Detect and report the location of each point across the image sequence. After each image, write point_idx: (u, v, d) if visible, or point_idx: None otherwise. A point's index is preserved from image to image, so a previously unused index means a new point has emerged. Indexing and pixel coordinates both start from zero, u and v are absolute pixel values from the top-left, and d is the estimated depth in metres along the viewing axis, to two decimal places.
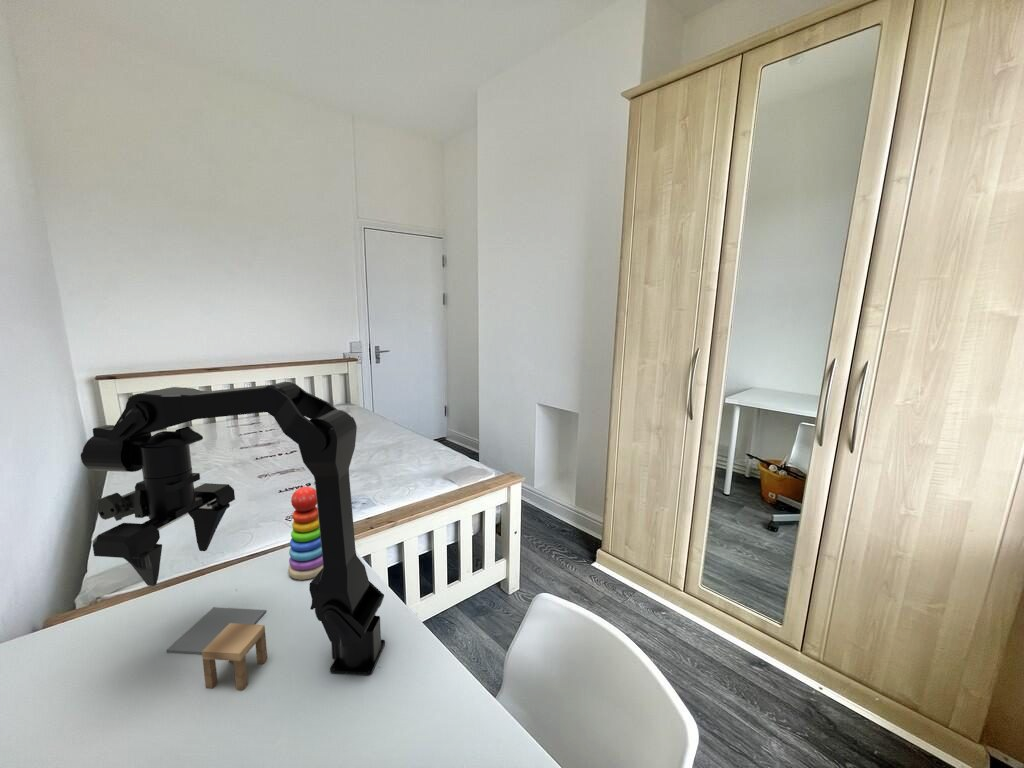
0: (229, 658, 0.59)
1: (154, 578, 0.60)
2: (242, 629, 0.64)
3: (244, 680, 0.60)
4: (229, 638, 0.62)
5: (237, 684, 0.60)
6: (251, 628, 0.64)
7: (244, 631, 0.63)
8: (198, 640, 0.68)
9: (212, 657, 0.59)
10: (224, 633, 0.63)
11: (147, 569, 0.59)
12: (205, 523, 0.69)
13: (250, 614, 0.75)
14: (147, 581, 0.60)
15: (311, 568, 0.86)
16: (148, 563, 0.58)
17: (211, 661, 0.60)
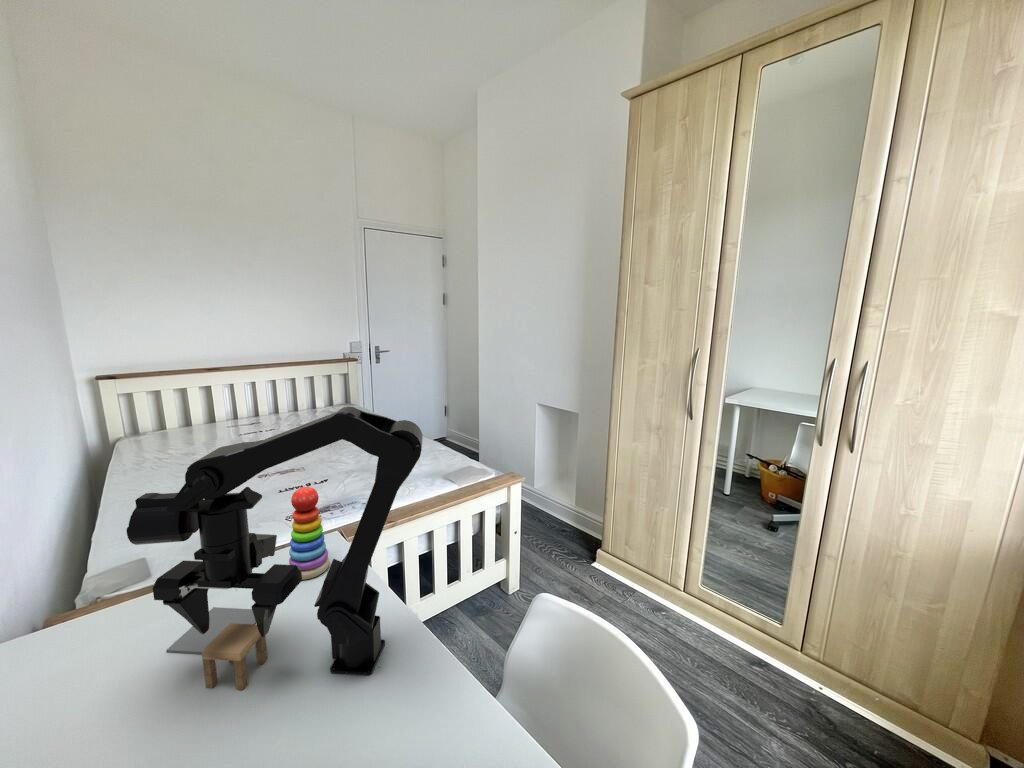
0: (229, 658, 0.59)
1: None
2: (242, 629, 0.64)
3: (244, 680, 0.60)
4: (229, 638, 0.62)
5: (237, 684, 0.60)
6: (251, 628, 0.64)
7: (244, 631, 0.63)
8: (198, 640, 0.68)
9: (212, 657, 0.59)
10: (224, 633, 0.63)
11: None
12: None
13: (250, 614, 0.75)
14: None
15: (311, 568, 0.86)
16: None
17: (211, 661, 0.60)
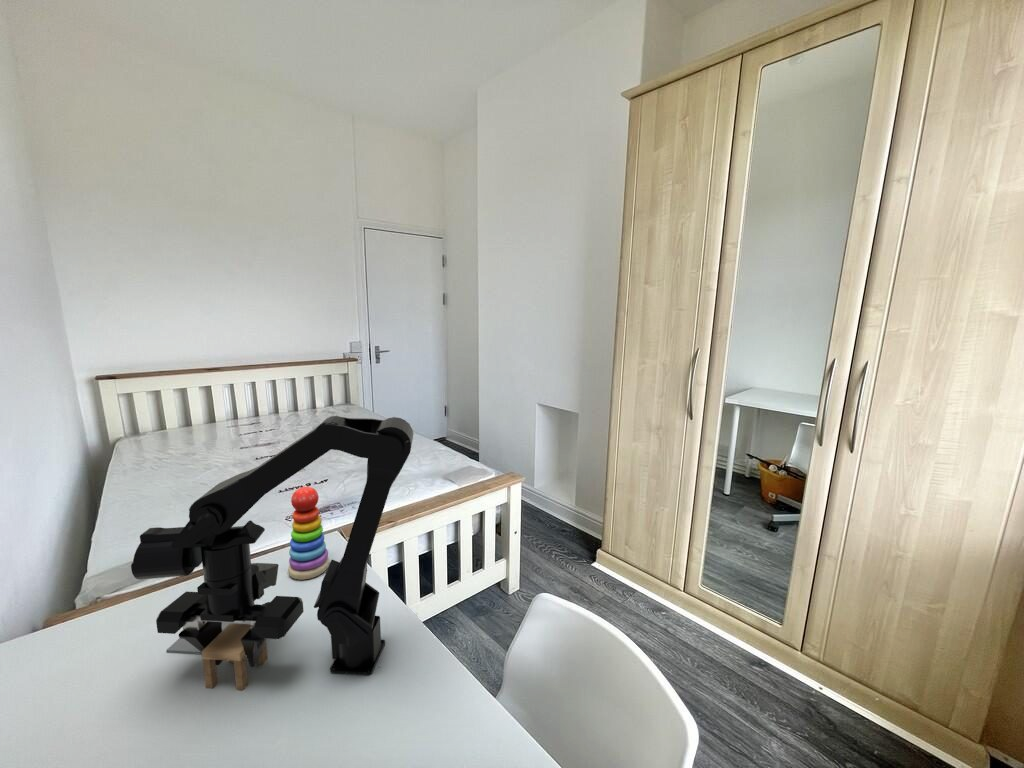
0: (229, 658, 0.59)
1: None
2: (242, 629, 0.64)
3: (244, 680, 0.60)
4: (229, 638, 0.62)
5: (237, 684, 0.60)
6: None
7: (244, 631, 0.63)
8: None
9: (212, 657, 0.59)
10: (224, 633, 0.63)
11: None
12: None
13: None
14: None
15: (311, 568, 0.86)
16: None
17: (211, 661, 0.60)
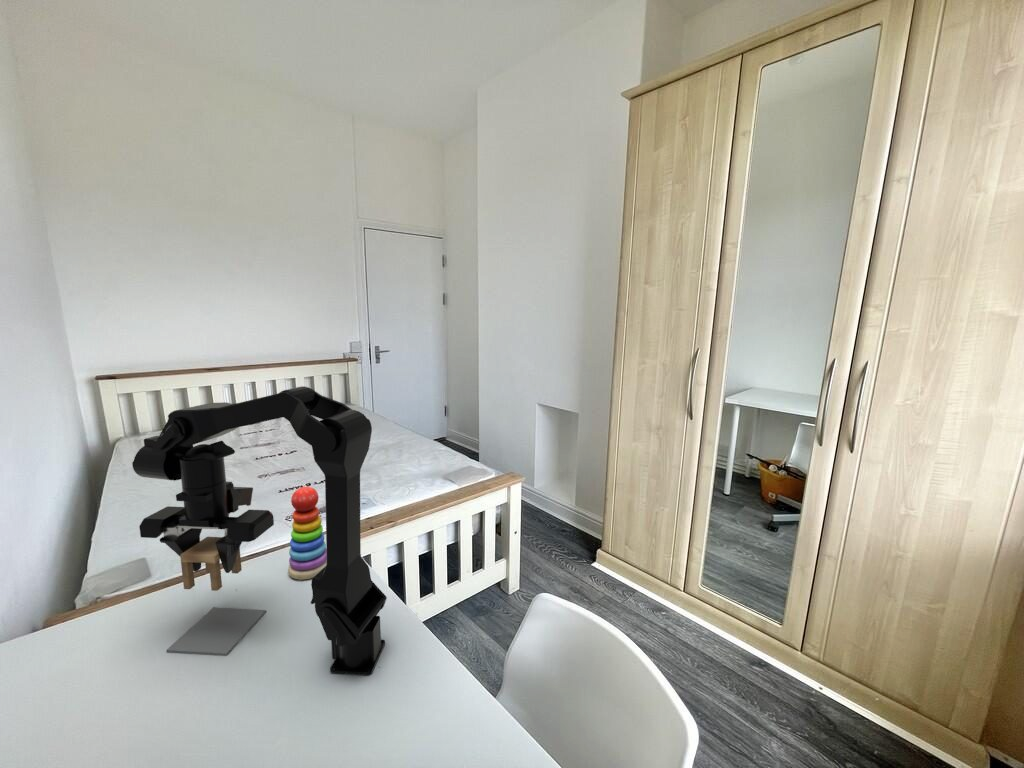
0: (205, 561, 0.66)
1: None
2: (217, 540, 0.70)
3: (218, 582, 0.67)
4: (206, 546, 0.68)
5: (212, 585, 0.66)
6: None
7: None
8: (198, 640, 0.68)
9: (189, 560, 0.66)
10: (201, 543, 0.69)
11: None
12: None
13: (250, 614, 0.75)
14: None
15: (311, 568, 0.86)
16: None
17: (188, 564, 0.66)
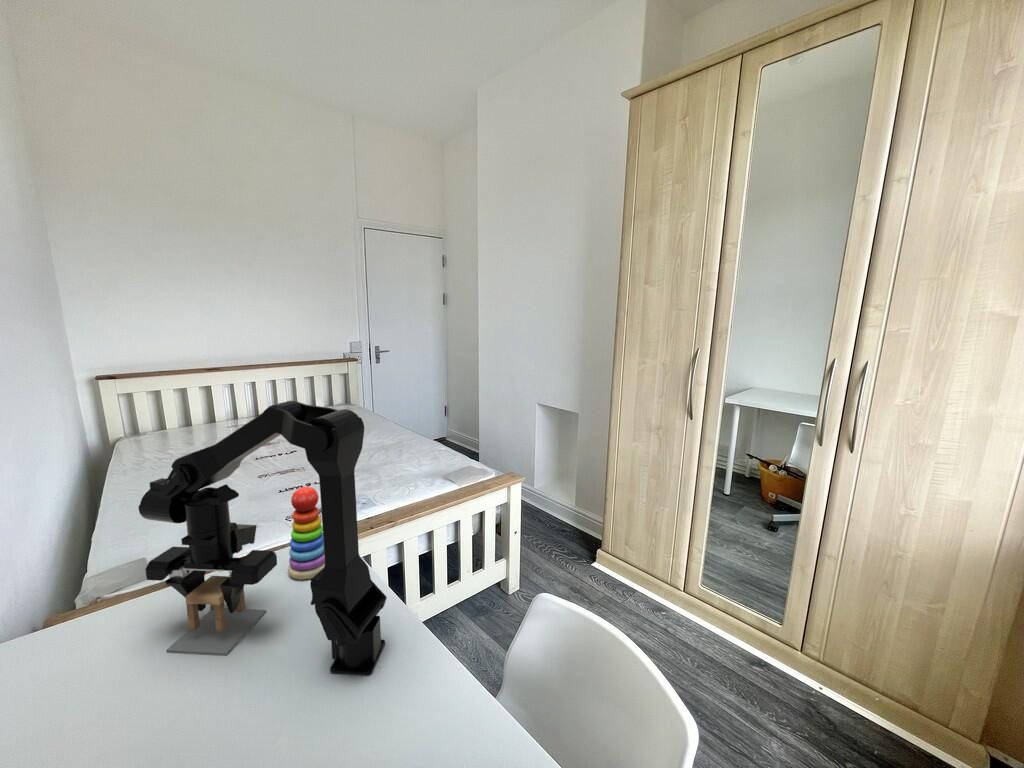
0: (209, 602, 0.67)
1: None
2: (222, 580, 0.71)
3: (223, 622, 0.68)
4: (210, 586, 0.70)
5: (217, 626, 0.68)
6: None
7: None
8: (198, 640, 0.68)
9: (194, 602, 0.67)
10: (206, 583, 0.71)
11: None
12: None
13: (250, 614, 0.75)
14: None
15: (311, 568, 0.86)
16: None
17: (193, 606, 0.68)
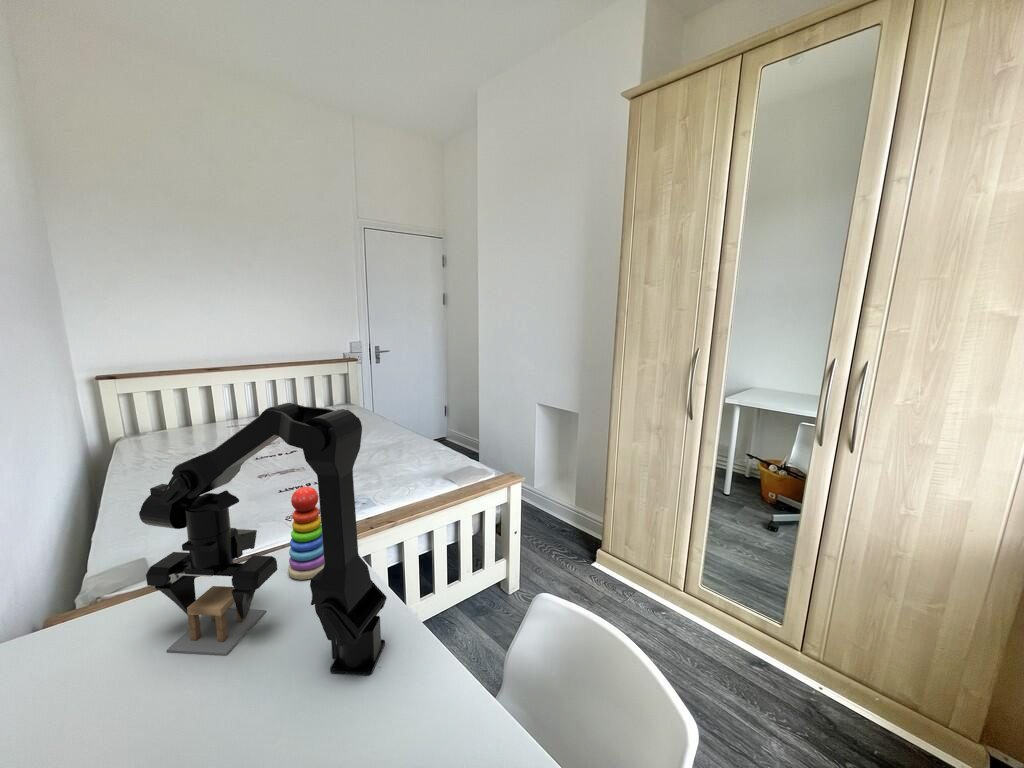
0: (211, 613, 0.67)
1: (183, 610, 0.70)
2: (223, 590, 0.72)
3: (224, 633, 0.68)
4: (212, 597, 0.70)
5: (218, 637, 0.68)
6: (231, 589, 0.72)
7: (225, 592, 0.71)
8: (198, 640, 0.68)
9: (196, 613, 0.68)
10: (207, 593, 0.71)
11: None
12: None
13: (250, 614, 0.75)
14: None
15: (311, 568, 0.86)
16: None
17: (195, 616, 0.68)
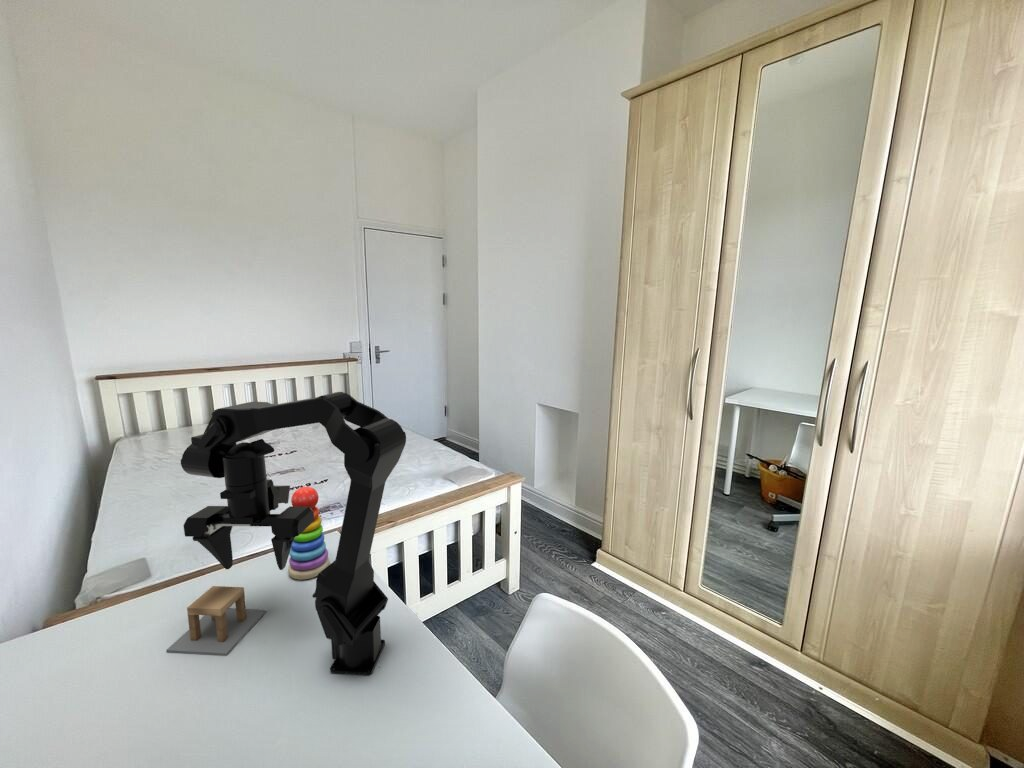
0: (211, 613, 0.67)
1: (221, 563, 0.69)
2: (223, 590, 0.72)
3: (224, 633, 0.68)
4: (212, 597, 0.70)
5: (218, 637, 0.68)
6: (231, 589, 0.72)
7: (225, 592, 0.71)
8: (198, 640, 0.68)
9: (196, 613, 0.68)
10: (207, 593, 0.71)
11: None
12: None
13: (250, 614, 0.75)
14: None
15: (311, 568, 0.86)
16: None
17: (195, 616, 0.68)
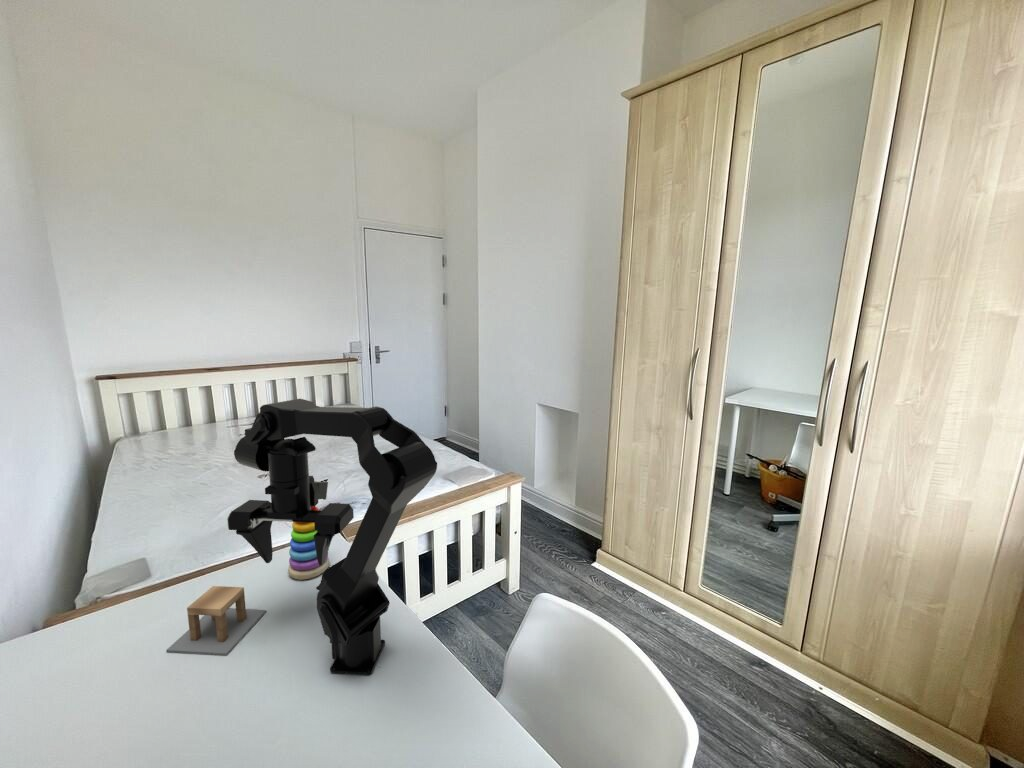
0: (211, 613, 0.67)
1: (262, 557, 0.70)
2: (223, 590, 0.72)
3: (224, 633, 0.68)
4: (212, 597, 0.70)
5: (218, 637, 0.68)
6: (231, 589, 0.72)
7: (225, 592, 0.71)
8: (198, 640, 0.68)
9: (196, 613, 0.68)
10: (207, 593, 0.71)
11: None
12: None
13: (250, 614, 0.75)
14: None
15: (311, 568, 0.86)
16: None
17: (195, 616, 0.68)
